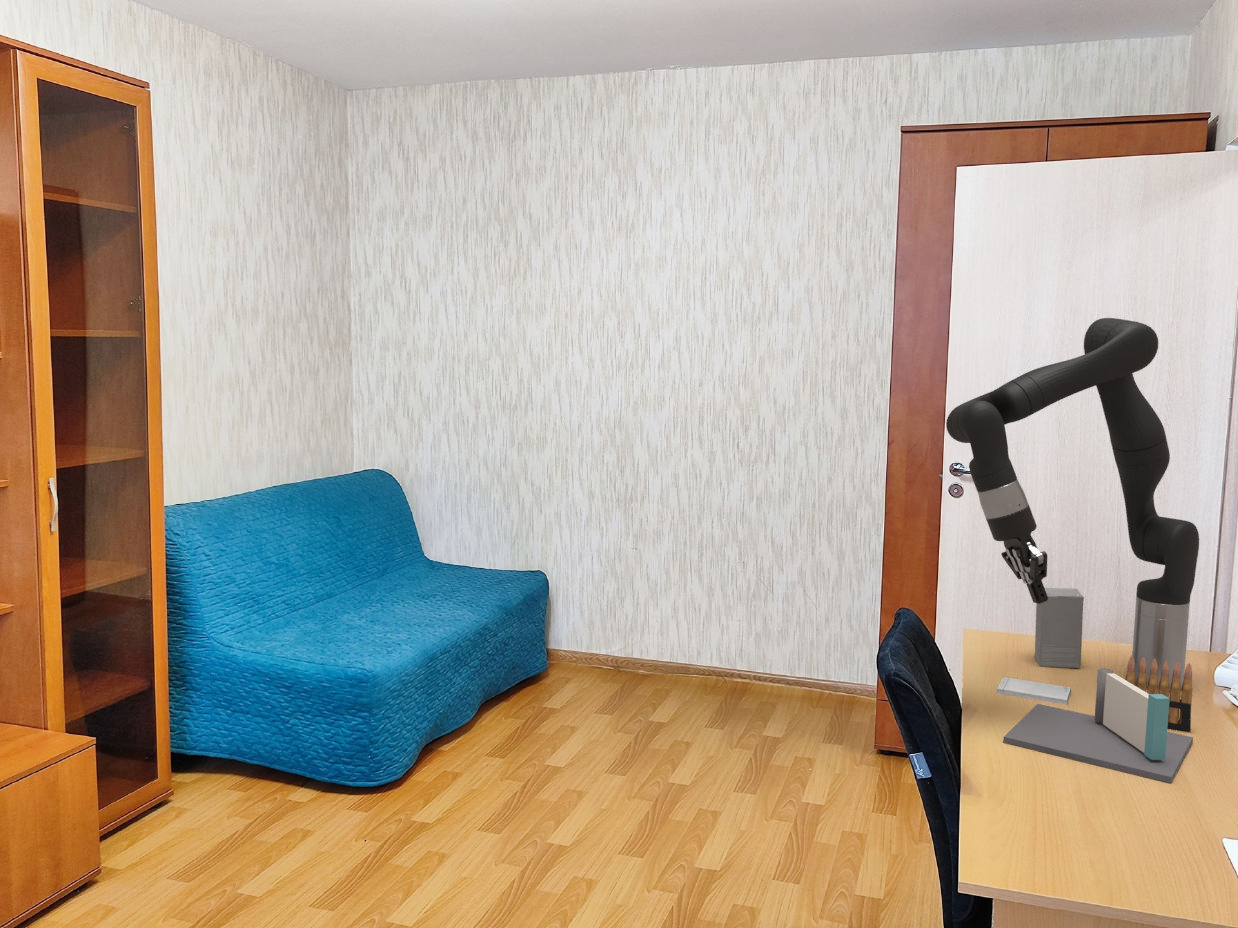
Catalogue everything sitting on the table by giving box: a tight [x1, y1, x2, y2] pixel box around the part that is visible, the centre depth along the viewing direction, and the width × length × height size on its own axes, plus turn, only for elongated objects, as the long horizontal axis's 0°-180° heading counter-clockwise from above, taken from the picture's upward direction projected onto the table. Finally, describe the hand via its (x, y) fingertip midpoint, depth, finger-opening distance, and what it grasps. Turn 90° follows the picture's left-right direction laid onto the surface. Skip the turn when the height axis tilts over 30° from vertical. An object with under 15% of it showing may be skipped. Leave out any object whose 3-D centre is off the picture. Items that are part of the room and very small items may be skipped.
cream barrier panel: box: [1094, 667, 1170, 760], centre depth 165 cm, size 18×2×10 cm, turn 3°
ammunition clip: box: [1124, 655, 1194, 733], centre depth 175 cm, size 11×2×12 cm, turn 62°
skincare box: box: [1034, 587, 1085, 669], centre depth 208 cm, size 8×7×16 cm
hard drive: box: [996, 676, 1072, 706], centre depth 192 cm, size 2×8×12 cm
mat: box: [1003, 703, 1194, 784], centre depth 168 cm, size 20×25×1 cm
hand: (1041, 601), depth 176 cm, fingers closed
